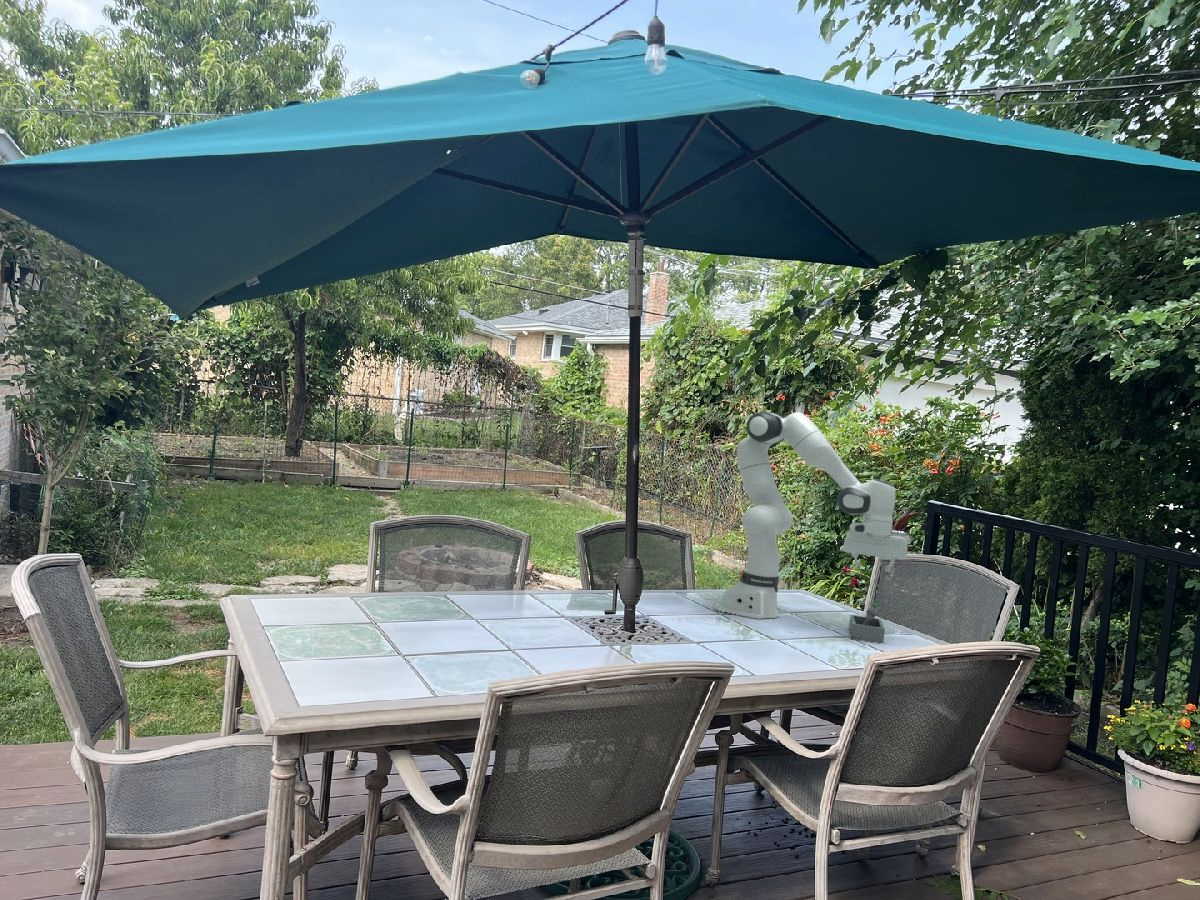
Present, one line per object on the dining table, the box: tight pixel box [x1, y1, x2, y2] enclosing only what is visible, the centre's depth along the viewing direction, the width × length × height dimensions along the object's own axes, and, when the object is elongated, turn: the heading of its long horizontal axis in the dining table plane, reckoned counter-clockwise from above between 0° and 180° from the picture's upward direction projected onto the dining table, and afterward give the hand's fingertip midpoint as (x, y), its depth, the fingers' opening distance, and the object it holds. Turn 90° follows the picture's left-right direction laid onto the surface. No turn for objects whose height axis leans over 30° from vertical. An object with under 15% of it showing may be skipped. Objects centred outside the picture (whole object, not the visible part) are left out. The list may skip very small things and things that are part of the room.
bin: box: [848, 614, 886, 644], centre depth 282 cm, size 10×15×5 cm, turn 166°
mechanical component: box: [863, 601, 880, 626], centre depth 284 cm, size 3×10×10 cm
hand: (872, 569), depth 282 cm, fingers open, 8 cm apart
